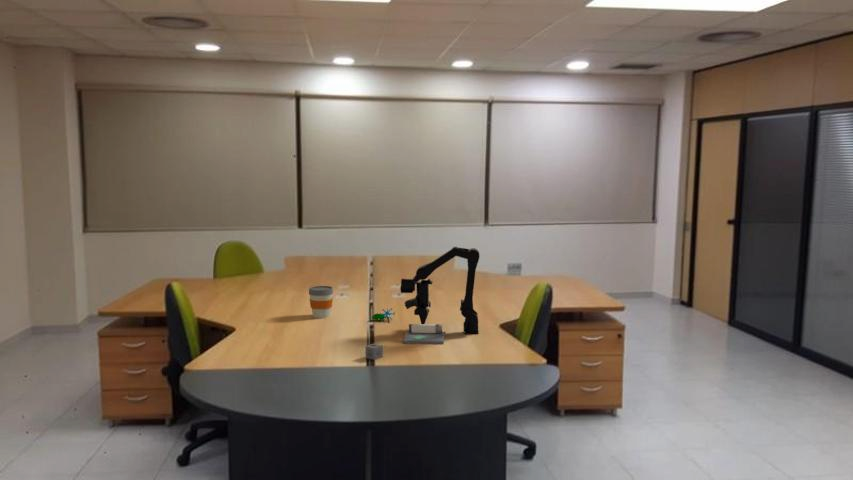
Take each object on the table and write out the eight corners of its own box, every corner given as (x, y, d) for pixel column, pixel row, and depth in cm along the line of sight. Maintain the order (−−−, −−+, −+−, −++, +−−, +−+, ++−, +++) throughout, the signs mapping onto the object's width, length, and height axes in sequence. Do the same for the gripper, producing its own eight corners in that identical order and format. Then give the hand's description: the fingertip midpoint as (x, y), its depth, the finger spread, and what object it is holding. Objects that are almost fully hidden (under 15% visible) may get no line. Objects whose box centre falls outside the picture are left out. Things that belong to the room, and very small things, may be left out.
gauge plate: (445, 334, 296) (445, 331, 296) (443, 343, 280) (443, 340, 280) (407, 333, 297) (407, 330, 297) (403, 343, 282) (403, 340, 281)
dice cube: (374, 355, 265) (373, 343, 264) (382, 357, 262) (382, 345, 261) (365, 357, 261) (365, 346, 261) (374, 360, 258) (374, 348, 257)
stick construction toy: (396, 314, 326) (392, 304, 321) (398, 324, 321) (394, 315, 316) (374, 321, 326) (369, 311, 321) (375, 331, 321) (371, 322, 316)
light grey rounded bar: (442, 331, 294) (442, 324, 294) (442, 333, 291) (441, 325, 291) (409, 331, 296) (409, 323, 295) (408, 333, 293) (408, 325, 292)
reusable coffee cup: (328, 319, 325) (328, 290, 323) (305, 318, 328) (304, 290, 326) (337, 313, 337) (336, 286, 336) (314, 312, 340) (314, 285, 338)
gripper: (407, 289, 308) (408, 320, 310) (403, 297, 290) (403, 330, 291) (430, 289, 307) (431, 320, 309) (427, 297, 289) (427, 330, 290)
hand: (422, 325), depth 300 cm, fingers closed
